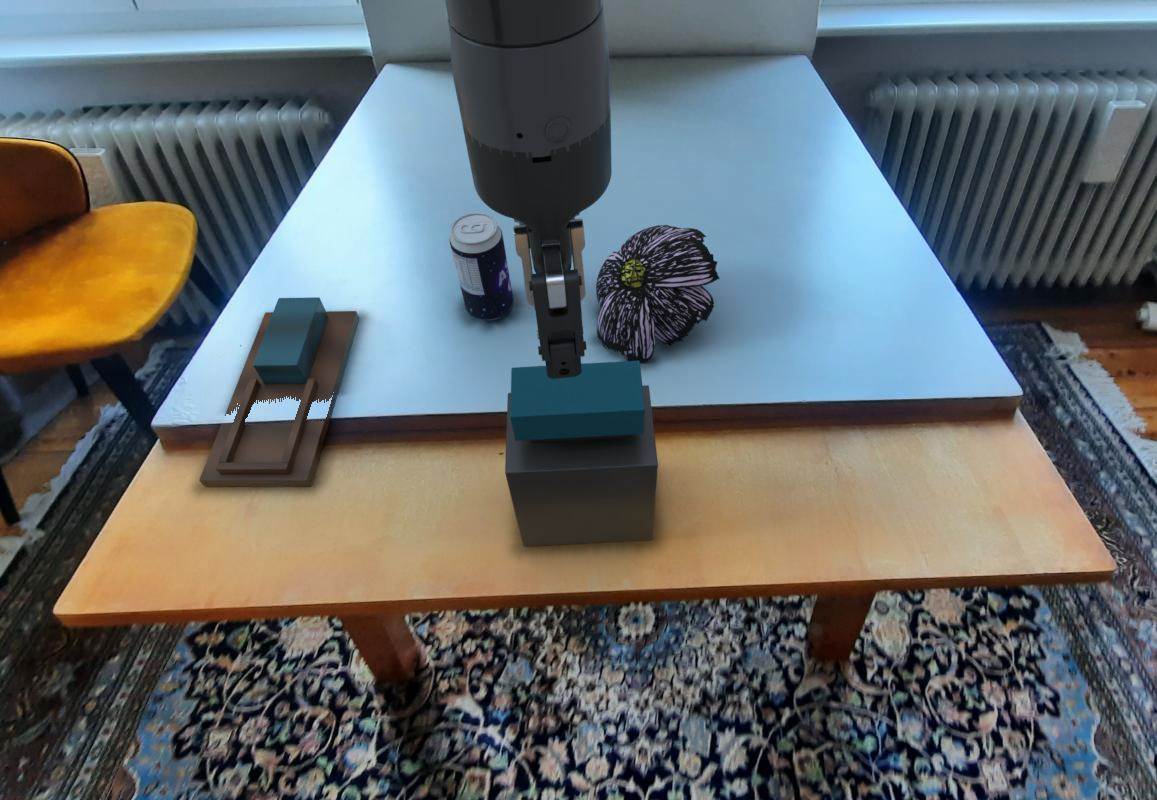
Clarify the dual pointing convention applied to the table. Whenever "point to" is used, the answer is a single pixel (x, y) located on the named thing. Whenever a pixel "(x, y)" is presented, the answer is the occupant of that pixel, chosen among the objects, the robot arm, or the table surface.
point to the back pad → (577, 402)
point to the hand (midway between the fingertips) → (558, 325)
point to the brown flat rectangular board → (275, 370)
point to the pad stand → (584, 486)
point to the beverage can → (481, 266)
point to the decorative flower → (654, 290)
